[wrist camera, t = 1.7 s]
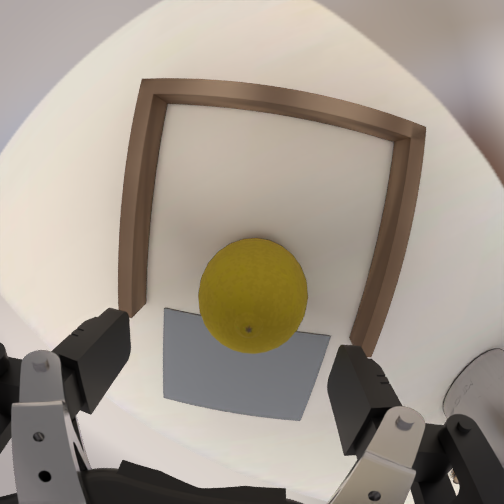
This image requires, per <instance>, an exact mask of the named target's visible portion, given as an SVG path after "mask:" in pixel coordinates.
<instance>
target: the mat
mask: <svg viewBox="0 0 504 504" xmlns="http://www.w3.org/2000/svg"><path fill="white" fill-rule="evenodd" d="M330 337H331V336H328V335H320V334H312V333H304V332H295V333H294V334H293V335H292V336H291V338H290V339H289V340H288V341H287V342H285V343H284V344H282V345H281V346H279V347H278V348H275V349H272V350H270V351H267V352H263V353H256V354H250V353H241V352H238V351H234V350H232V349H230V348H228V347H226V346H224V345H222V344H221V343H220V342H219V341H217V340H216V339H215V338H214V337H213V336H212V335H211V333H210V332H209V331H208V329H207V328H206V326H205V324H204V322H203V319H202V316H201V315H196V314H191V313H187V312H182V311H177V310H173V309H168V308H164V332H163V394H164V398H166V399H170V400H174V401H178V402H182V403H187V404H191V405H195V406H200V407H205V408H210V409H215V410H220V411H225V412H231V413H237V414H244V415H250V416H258V417H265V418H274V419H284V420H295V421H300V420H301V418H302V415H303V413H304V410H305V408H306V405H307V403H308V400H309V397H310V395H311V392H312V389H313V387H314V384H315V381H316V378H317V376H318V373H319V370H320V367H321V364H322V361H323V358H324V355H325V352H326V349H327V346H328V343H329V340H330Z"/></svg>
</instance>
